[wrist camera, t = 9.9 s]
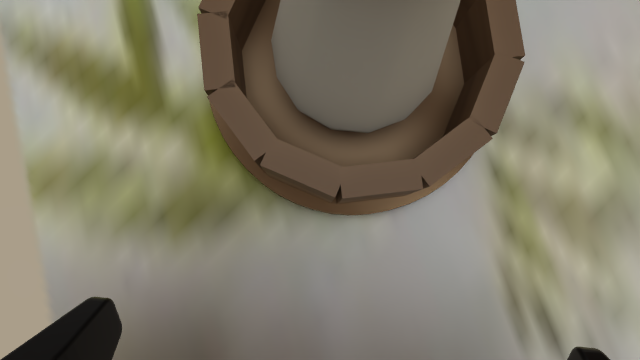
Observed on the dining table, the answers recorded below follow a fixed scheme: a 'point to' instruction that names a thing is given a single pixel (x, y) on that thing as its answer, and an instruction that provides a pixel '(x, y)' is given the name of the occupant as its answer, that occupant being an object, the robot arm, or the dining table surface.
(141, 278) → the dining table surface
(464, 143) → the collar stand
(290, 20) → the salt shaker
